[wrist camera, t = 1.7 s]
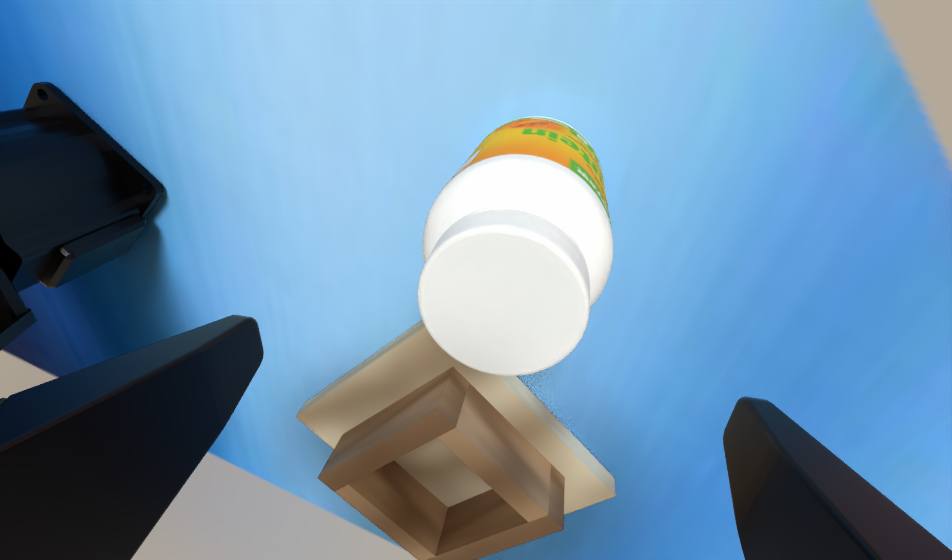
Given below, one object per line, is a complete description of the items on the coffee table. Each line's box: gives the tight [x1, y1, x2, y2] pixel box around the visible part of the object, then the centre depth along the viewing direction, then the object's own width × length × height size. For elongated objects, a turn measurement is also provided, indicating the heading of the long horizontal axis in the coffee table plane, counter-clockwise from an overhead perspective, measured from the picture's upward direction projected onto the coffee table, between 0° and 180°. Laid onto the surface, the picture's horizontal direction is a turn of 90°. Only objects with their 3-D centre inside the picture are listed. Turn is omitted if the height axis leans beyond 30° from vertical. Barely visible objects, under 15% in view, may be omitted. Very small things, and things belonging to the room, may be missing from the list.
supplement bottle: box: [418, 116, 613, 376], centre depth 15 cm, size 5×5×10 cm
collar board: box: [296, 320, 616, 560], centre depth 25 cm, size 14×12×4 cm
